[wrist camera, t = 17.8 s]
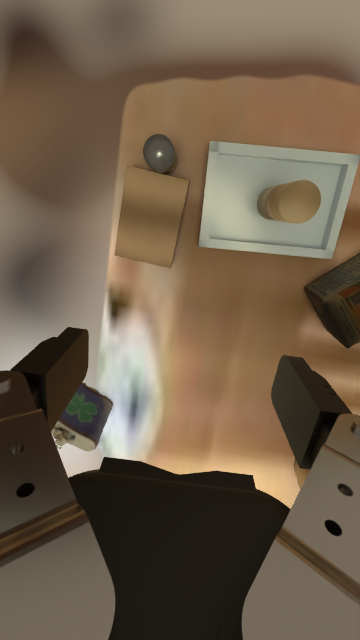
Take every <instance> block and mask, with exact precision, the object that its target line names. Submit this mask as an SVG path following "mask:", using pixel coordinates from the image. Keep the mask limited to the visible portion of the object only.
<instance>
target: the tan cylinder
mask: <svg viewBox="0 0 360 640" xmlns="http://www.w3.org/2000/svg"><path fill="white" fill-rule="evenodd" d="M320 204H321V194H320V190H319V188H318V187H317V186H316V185H315V184H314V183H313V182H311V181H308V180H298V181H294V182H290V183H286V184H281V185H277V186H273V187H269V188H267V189H265V190H264V191H263V192H262V193H261V194H260V196H259V197H258V200H257V209H258V212H259V214H260V215H261V216H262V217H263V218H265V219H269V220H276V221H282V222H288V223H295V224H300V223H304V222H306V221H308V220H310V219H311V218H312V217H313V216H314V215H315V214H316V213H317V211H318V209H319V207H320Z"/></svg>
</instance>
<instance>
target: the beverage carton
mask: <svg viewBox="0 0 360 640" xmlns="http://www.w3.org/2000/svg"><path fill="white" fill-rule="evenodd" d="M304 289H305V292H306V294H307V296H308V298H309V299H310V301H311V303H312V305H313V307H314V309H315V311H316V313H317V315H318V316H319V318H320V320H321V322H322V323H323V325H324V327H325V328H326V329H327V331H328V332H329V333H330V334H332V335H333V336H334V337H335V338H336V339H337V340H338V341H339V342H340V343H341V344H343V345H344V346H345V347H346V348H350V347H351V346H353V345H355V344H357V343H359V342H360V254H359V255H357V256H355V257H354V258H352V259H350V260H349V261H347V262H345V263H344V264H342V265H340V266H339V267H337V268H336V269H334V270H332V271H331V272H329V273H328V274H326V275H324V276H323V277H321V278H320V279H318V280H316V281H315V282H313V283H312V284H310V285H308V286H307V287H305V288H304Z"/></svg>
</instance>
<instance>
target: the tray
mask: <svg viewBox="0 0 360 640" xmlns="http://www.w3.org/2000/svg"><path fill="white" fill-rule="evenodd" d="M359 160H360V155H357V154H346V153H335V152H325V151H314V150H303V149H293V148H282V147H271V146H260V145H250V144H239V143H228V142H218V141H210V143H209V149H208V159H207V168H206V177H205V186H204V196H203V205H202V214H201V223H200V233H199V242H198V245H199V247H209V248H219V249H230V250H240V251H251V252H261V253H272V254H282V255H293V256H303V257H314V258H324V259H332V257H333V253H334V250H335V246H336V242H337V239H338V235H339V232H340V228H341V224H342V221H343V217H344V214H345V210H346V207H347V203H348V199H349V196H350V192H351V189H352V185H353V181H354V178H355V174H356V171H357V167H358V163H359ZM298 180H308V181H311V182H313V183H314V184H315V185H316V186H317V187H318V188H319V190H320V194H321V204H320V207H319V209H318V211H317V213H316V214H315V215H314V216H313V217H312V218H311V219H310V220H308V221H306V222H304V223H300V224H295V223H288V222H282V221H276V220H269V219H265V218H263V217H262V216H261V215H260V214H259V212H258V209H257V200H258V197H259V196H260V194H261V193H262V192H263V191H264V190H265V189H267V188H269V187H273V186H277V185H281V184H286V183H290V182H294V181H298Z"/></svg>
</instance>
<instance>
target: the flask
mask: <svg viewBox="0 0 360 640" xmlns="http://www.w3.org/2000/svg"><path fill="white" fill-rule="evenodd" d="M111 409H112V402H111V401H110V400H109V399H108V398H107V397H106V396H105V397H104V396H102V395H101V394H100V393H98V391H96V390H95V389H93V388H90V387H88V386H86V384H85V383H81V385H80V386H79V388H78V390H77V391H76V393H75V394H74V396H73V398H72V399H71V401H70V402H69V404H68V406H67V407H66V409H65V410H64V412H63V414H62V415H61V417H60V418H59V420H58V422H57V423H56V425H55V426H54V428H53V430H52V431H51V433H53V436H54V438H55V439H57V440H56V441H55V443H56V444H58V445H60V446H62V445H64V444H65V443H67V442H68V443H70V444H72V445H74V446H76V447H78V448H80V449H83V450H85V451H91V450H94V449H95V448H96V446H97V445H98V442H99V438H100V436H101V433H102V431H103V428H104V426H105V424H106V422H107V418H108V416H109V414H110V411H111ZM56 447H57V448H58V446H57V445H56ZM59 449H61V447H60V448H59Z"/></svg>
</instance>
